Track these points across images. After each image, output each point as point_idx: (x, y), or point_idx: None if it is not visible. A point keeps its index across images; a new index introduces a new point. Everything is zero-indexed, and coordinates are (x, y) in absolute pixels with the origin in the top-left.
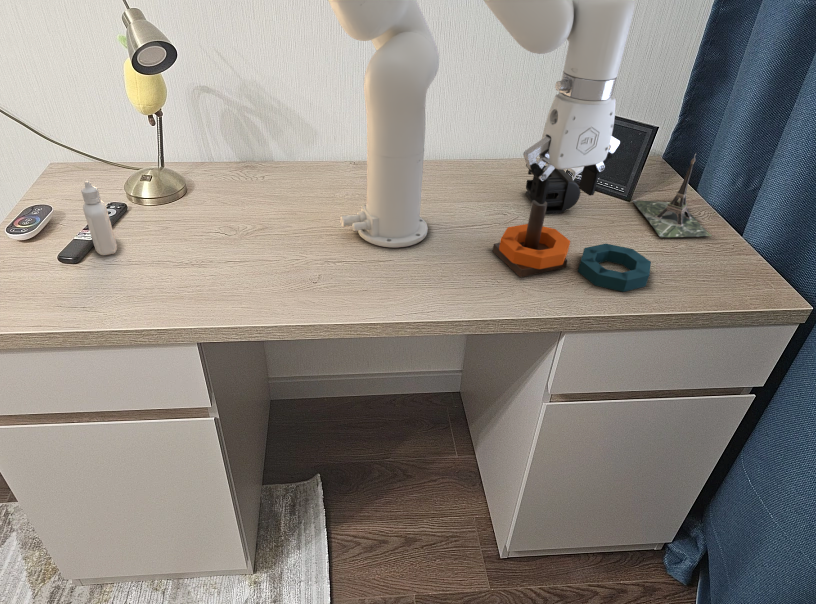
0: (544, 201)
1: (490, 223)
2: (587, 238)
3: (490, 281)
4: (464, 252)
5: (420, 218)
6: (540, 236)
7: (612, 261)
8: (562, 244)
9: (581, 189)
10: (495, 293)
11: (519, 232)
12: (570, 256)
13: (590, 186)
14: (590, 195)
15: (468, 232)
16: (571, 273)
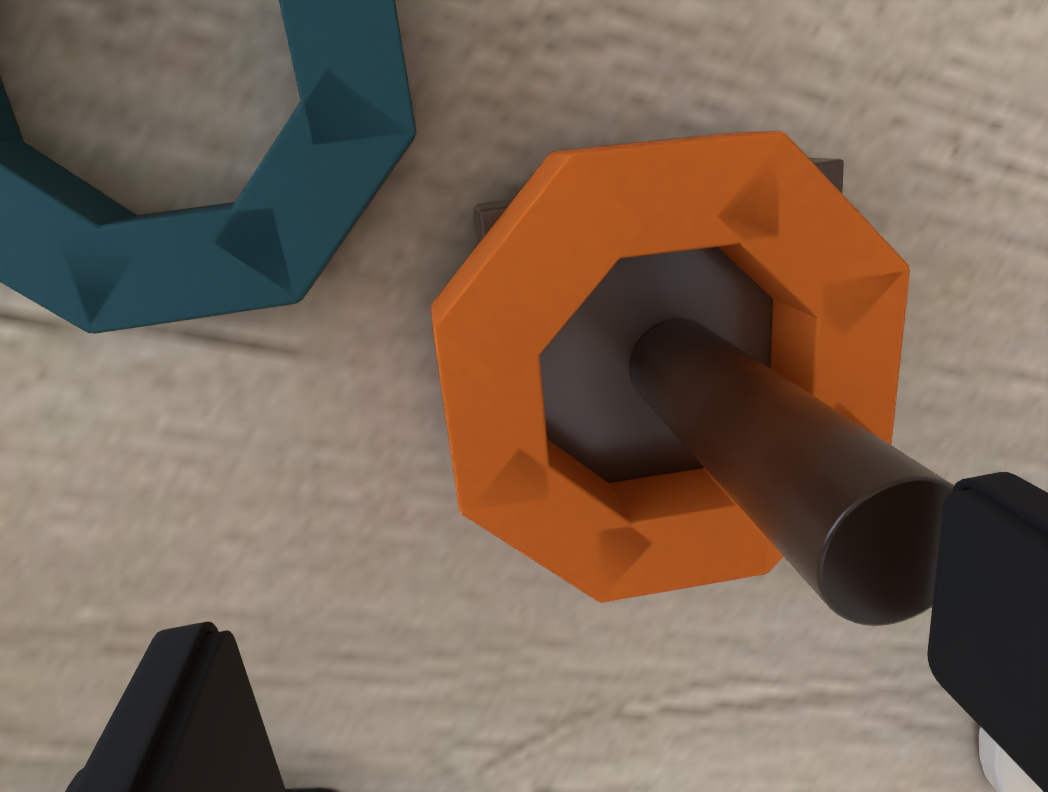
0: (988, 487)
1: (661, 720)
2: (153, 517)
3: (988, 162)
4: (940, 475)
5: (1007, 758)
6: (685, 377)
7: (95, 189)
8: (523, 289)
9: (274, 769)
10: (1040, 23)
11: (729, 504)
12: (374, 330)
13: (201, 741)
14: (211, 623)
15: (814, 650)
16: (469, 125)
